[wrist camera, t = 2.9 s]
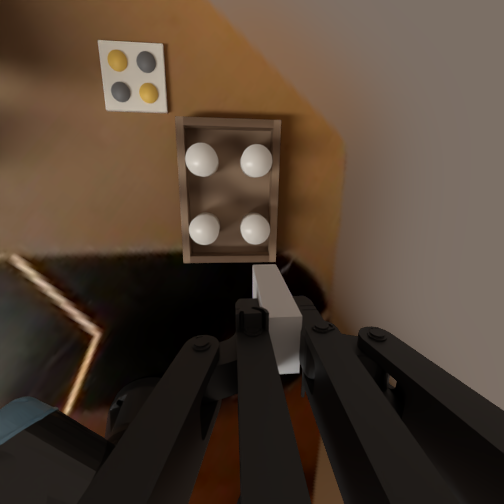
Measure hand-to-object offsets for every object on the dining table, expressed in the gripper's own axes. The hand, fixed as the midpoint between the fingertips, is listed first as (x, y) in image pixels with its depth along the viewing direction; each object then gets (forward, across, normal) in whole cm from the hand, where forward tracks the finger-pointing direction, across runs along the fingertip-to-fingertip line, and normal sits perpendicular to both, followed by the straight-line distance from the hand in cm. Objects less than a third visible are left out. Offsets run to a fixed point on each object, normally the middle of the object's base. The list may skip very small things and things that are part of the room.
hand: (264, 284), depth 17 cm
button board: (+25, +2, -4) cm, 26 cm away
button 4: (+23, +6, -9) cm, 26 cm away
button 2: (+23, -1, -9) cm, 25 cm away
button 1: (+23, -1, 0) cm, 23 cm away
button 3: (+23, +6, 0) cm, 24 cm away
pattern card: (+25, +15, -20) cm, 35 cm away
